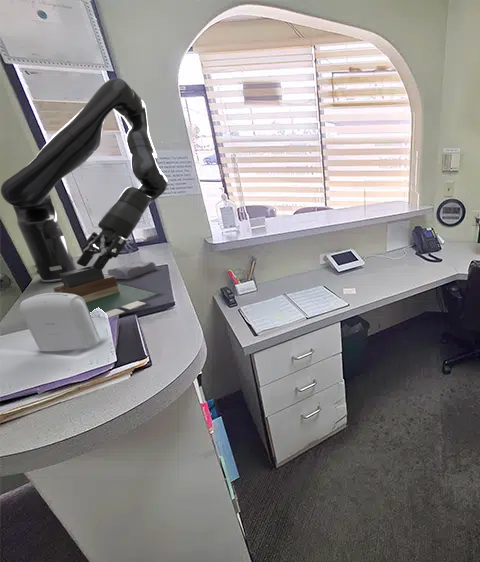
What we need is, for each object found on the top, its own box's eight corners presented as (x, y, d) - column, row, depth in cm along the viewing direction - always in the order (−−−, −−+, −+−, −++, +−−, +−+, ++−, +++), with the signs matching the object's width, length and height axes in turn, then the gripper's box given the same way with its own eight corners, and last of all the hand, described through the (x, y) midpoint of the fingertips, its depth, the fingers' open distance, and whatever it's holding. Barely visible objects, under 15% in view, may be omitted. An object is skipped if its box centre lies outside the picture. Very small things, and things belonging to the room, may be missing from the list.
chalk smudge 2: (122, 309, 83) (121, 306, 82) (138, 303, 86) (137, 300, 86) (130, 311, 81) (129, 309, 81) (146, 305, 84) (146, 303, 84)
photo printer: (36, 354, 63) (9, 299, 59) (54, 343, 67) (30, 291, 63) (90, 351, 64) (67, 296, 60) (104, 340, 68) (84, 288, 64)
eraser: (60, 304, 84) (47, 275, 81) (110, 289, 95) (100, 262, 92) (69, 308, 82) (56, 278, 79) (119, 291, 93) (110, 264, 90)
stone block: (107, 284, 105) (129, 280, 102) (101, 271, 104) (123, 266, 101) (139, 274, 116) (160, 270, 113) (134, 261, 115) (154, 257, 112)
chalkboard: (36, 311, 82) (35, 309, 82) (120, 285, 99) (119, 283, 99) (74, 326, 74) (73, 324, 74) (158, 295, 91) (158, 293, 91)
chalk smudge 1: (99, 317, 78) (98, 314, 78) (117, 311, 82) (116, 308, 81) (107, 320, 77) (106, 317, 76) (125, 314, 80) (124, 311, 80)
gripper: (147, 228, 93) (116, 276, 87) (120, 225, 99) (89, 269, 93) (122, 213, 86) (86, 263, 81) (95, 210, 92) (60, 257, 87)
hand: (88, 266), depth 87 cm, fingers open, 8 cm apart
